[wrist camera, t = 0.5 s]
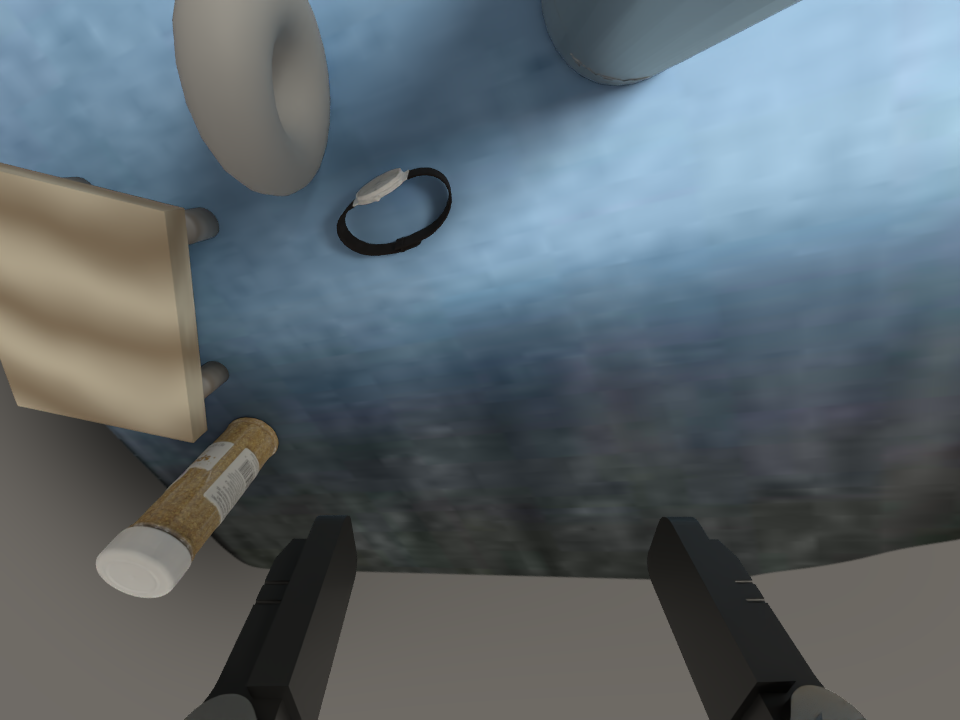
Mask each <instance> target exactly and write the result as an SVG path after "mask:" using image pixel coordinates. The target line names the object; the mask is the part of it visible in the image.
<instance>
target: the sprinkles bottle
mask: <svg viewBox="0 0 960 720" xmlns="http://www.w3.org/2000/svg"><path fill="white" fill-rule="evenodd" d="M277 448H278V438H277V435H276V433H275V432H274V430H273V429H272V428H271V427H270V426H269V425H267V424H266V423H265V422H263V421H261V420H258V419H256V418H247V417H244V418H239V419H236V420H234V421H233V422H232V423H230V424H229V426H228V427H227V429H226V430H225V431H224V433H223V434H222V435H220V437H219V438H218V439H217V440H216V441H214V443H213V444H212V445H210V446H209V447H208V448H207V449H206V450H205V451H204V452H203V453H202V454H201V455H200V456H199V457H198V458H197V459H196V460H195V461H194V462H193V463H192V464H191V465H190V466H189V467H188V468H187V469H186V470H185V471H184V472H183V473H182V474H181V475H180V476H179V477H178V478H177V479H176V480H175V481H174V482H173V483H172V484H171V485H170V486H169V488H168V489H167V490H166V491H165V493H164V494H163V495H162V496H161V497H160V498H159V499H158V500H157V501H156V502H155V503H154V504H153V505H152V506H151V507H150V508H149V509H148V510H147V511H146V512H145V513H144V514H143V515H142V516H141V517H140V518H139V519H138V520H137V521H136V522H135V523H134V524H133V525H130V527H128V528H127V529H125V530H123V531H121V532H120V533H119V534H118V535H117V536H116V537H115V538H114V539H113V540H112V541H111V542H110V543H109V544H108V545H107V546H106V547H105V548H104V549H103V551H102V552H101V553H100V554H99V555H98V557H97V559H96V569H97V571H98V573H99V575H100V576H101V577H102V578H103V579H104V580H105V581H106V582H107V583H108V584H109V585H111V586H112V587H114V588H116V589H117V590H119V591H122V592H124V593H126V594H129V595H133V596H137V597H142V598H155V597H160V596H163V595H165V594H167V593H169V592H170V591H171V590H172V588H174V586H175V585H176V584H177V583H178V582H179V580H180V579H181V578H182V576H183V575H184V574H185V572H186V571H187V570H188V568H189V567H190V565H191V562H192V561H193V559H194V557H195V554H196V553H197V552H198V551H199V549H200V548H201V547H202V546H203V544H204V543H205V542H206V540H207V539H208V538H209V537H210V535H211V534H212V533H213V531H214V530H215V529H216V528H217V527H218V526H219V525H220V523H221V522H222V521H223V520H224V518H225V517H226V516H227V514H228V513H229V512H230V510H231V509H232V508H233V506H234V505H235V504H236V502H237V501H238V500H239V498H240V497H241V496H242V495H243V493H244V492H245V491H246V489H247V488H248V486H249V485H250V484H251V482H252V481H253V480H254V478H255V477H256V476H257V474H258V472H259V470H260V469H261V468H262V466H263V465H264V463H265V462H266V461H267V460H268V458H269V457H271V456H272V455H273V454H274V453H275V452H276V450H277Z"/></svg>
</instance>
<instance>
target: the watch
mask: <svg viewBox="0 0 960 720" xmlns="http://www.w3.org/2000/svg"><path fill="white" fill-rule="evenodd" d="M421 175H428V176H434V177H436V178H438V179H440V180H441V181H442V182H443V183H444V184H445V185H446V187H447V189H448V193H449V196H448V201H447V205H446V207H445V209H444V211H443V213H442V214H441V215H440V216H439V218H438V219H437V220H435V221H434V222H433V223H432V224H431V225H429V226H428V227H426V228H424V229H422V230H420V231H418V232H416V233H414V234H412V235H410V236H407V237H402V238H400V239H397V240H396V242H394V243H388V244H369V243H366V242H363V241H361V240H359V239H358V238H356V237H355V236H353V235H352V234H351V232H350V231H349V230H348V228H347V226H346V223H345V217H346V214H347V212H348V211H349V210H350V209H352V208H354V207H355V206H357V205H365V204H369V203H372V202H375V201H379V200H380V198H382V197H383V196H385V195H387V194H388V193H390V192H392V191H393V190H395V189H396V188H397V187H399V186H400V185H401V184H402V183H403V182H404V181H405V180H408V179H410V178H413V177H416V176H421ZM451 203H452V197H451V188H450V184H449V182H448V180H447V178H446V177H445V176H444V174H442V173H441V172H440V171H438V170H436V169H432V168H416V169H412V170H407V171H405V172H403V171H402V170H401V169H400V168H397V169H393V170H390V171H388V172H386V173H384V174H382V175H380V176H378V177H376V178H374V179H373V180H372V181H370V182H369V183H367V184H366V185H365V186H363V187H362V188H361V189H360V190H359V191H358V192H357V194H356V199H355V200H353V202H352V203H351V204H350V205H349V206H348V207H347V208H346V209H345V211H344V212H343V214H342V215H341V216H340V218H339V220H338V223H337V234H338V236H339V238H340V240H341V241H342V242H343V244H344V245H346V246H347V247H348V248H350V249H351V250H353V251H355V252H357V253H360V254H363V255H369V256H379V255H387V254H394V253H399V252H405V251H406V250H408V249H411V248H414V247H416V246H418V245H419V244H420V243H421V241H422V240H424V239H426V238H427V237H429V236H430V235H432V234H433V233H434V232H435V231H436V230H437V229H438V228H439V227H441V225H442V224H443V222H444V221H445V220H446V218H447V216H448V214H449V211H450V208H451Z"/></svg>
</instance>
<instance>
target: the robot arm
mask: <svg viewBox="0 0 960 720" xmlns="http://www.w3.org/2000/svg"><path fill="white" fill-rule="evenodd" d="M800 1H801V0H541V4H542V12H543V16H544V20H545V24H546V27H547V31H548V34H549V36H550V38H551V40H552V42H553V44H554V46H555V48H556V50H557V52H558V53H559V54H560V55H561V57H562V58H563V59H564V60H565V62H566V63H567V64H568V65H569V66H570V67H571V68H572V69H574V70H575V71H576V72H577V73H579V74H580V75H581V76H583V77H585V78H587V79H590V80H592V81H594V82H597V83H600V84H607V85H614V86H617V85H627V84H634V83H637V82H640V81H643V80H646V79H648V78H651V77H653V76H655V75H657V74H659V73H661V72H663V71H665V70H667V69H669V68H671V67H672V66H674V65H677V64H679V63H681V62H683V61H685V60H687V59H689V58H691V57H693V56H695V55H697V54H698V53H700V52H702V51H704V50H706V49H708V48H710V47H712V46H714V45H716V44H718V43H720V42H722V41H724V40H726V39H728V38H730V37H732V36H733V35H735V34H737V33H739V32H741V31H743V30H745V29H747V28H749V27H751V26H753V25H755V24H757V23H759V22H761V21H763V20H765V19H766V18H768V17H770V16H772V15H774V14H776V13H778V12H780V11H782V10H784V9H786V8H788V7H790V6H792V5H794V4H796V3H798V2H800ZM647 565H648V572H649V576H650V579H651V581H652V584H653V586H654V589H655V591H656V593H657V596H658V598H659V600H660V603H661V605H662V608H663V610H664V613H665V615H666V617H667V620H668V622H669V624H670V627H671V629H672V632H673V634H674V636H675V639H676V641H677V643H678V646H679V648H680V650H681V653H682V655H683V658H684V660H685V663H686V665H687V667H688V670H689V672H690V674H691V677H692V679H693V682H694V684H695V686H696V689H697V691H698V693H699V696H700V698H701V701H702V703H703V705H704V708H705V710H706V712H707V715H708V717H709V720H867V719H866V718H865V717H864V716H863V715H862V714H861V713H860V712H859V711H858V710H857V709H856V708H855V707H854V706H853V705H851V704H850V703H848V702H847V701H846V700H845V699H843V698H842V697H840V696H838V695H837V694H836V693H833V692H832V691H830V690H828V689H825V688H824V686H823V685H822V684H821V683H820V682H819V680H818V679H817V678H816V676H815V675H814V674H813V672H812V670H811V669H810V667H809V666H808V664H807V663H806V661H805V660H804V658H803V657H802V655H801V654H800V652H799V651H798V649H797V648H796V646H795V645H794V643H793V641H792V640H791V638H790V637H789V635H788V634H787V632H786V631H785V629H784V628H783V626H782V625H781V623H780V622H779V620H778V619H777V617H776V615H775V614H774V612H773V611H772V609H771V608H770V606H769V605H768V603H765V601H764V597H763V596H762V594H761V593H760V591H759V590H758V588H757V587H756V585H755V584H753V583H752V579H751V577H750V576H749V574H748V573H747V571H746V570H745V568H744V567H743V565H742V563H741V562H740V560H739V559H738V558H737V557H736V556H735V555H734V554H733V553H732V552H731V551H730V550H729V549H728V548H726V547H725V546H724V545H723V544H722V543H721V542H720V541H719V540H709V538H708V536H707V535H706V533H705V532H704V530H703V528H702V527H701V525H700V524H699V522H698V521H697V520H696V519H695V518H693V517H662V518H661V519H660V521H659V523H658V526H657V529H656V532H655V535H654V538H653V541H652V544H651V546H650V549H649V552H648V557H647ZM356 568H357V552H356V546H355V541H354V535H353V529H352V523H351V518H350V516H318V517H317V518H316V520H315V521H314V523H313V526H312V528H311V531H310V533H309V536H308V538H307V539H293V540H292V541H291V542H290V543H289V544H288V545H287V546H286V547H285V548H284V549H283V551H282V552H281V553H280V554H279V555H278V556H277V557H276V558H275V560H274V563H273V565H272V567H271V569H270V571H269V573H268V575H267V578H266V580H265V584H264V585H263V586H262V588H261V590H260V592H259V594H258V597H257V599H256V604H255V605H253V607H252V609H251V612H250V614H249V616H248V618H247V620H246V622H245V624H244V626H243V628H242V631H241V633H240V635H239V637H238V639H237V641H236V643H235V645H234V648H233V650H232V652H231V654H230V656H229V658H228V661H227V663H226V665H225V667H224V669H223V671H222V673H221V675H220V677H219V680H218V681H217V683H216V685H215V687H214V689H213V690H212V691H211V693H210V694H209V696H208V697H207V698H206V700H205V701H204V702H203V703H202V704H201V705H200V706H199V707H197V708H196V709H195V710H194V711H193V712H191V713H190V714H189V715H188V716H187V717H186V718H185V719H184V720H318V716H319V712H320V709H321V705H322V701H323V697H324V694H325V690H326V686H327V682H328V678H329V674H330V671H331V667H332V663H333V659H334V656H335V652H336V648H337V644H338V640H339V637H340V633H341V629H342V625H343V621H344V618H345V614H346V610H347V606H348V603H349V599H350V595H351V591H352V587H353V584H354V580H355V575H356Z"/></svg>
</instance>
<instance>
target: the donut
mask: <svg viewBox="0 0 960 720" xmlns="http://www.w3.org/2000/svg"><path fill="white" fill-rule="evenodd" d="M172 21H173V34H174V46H175V58H176V65H177V69H178V73H179V77H180V81H181V85H182V89H183V92H184V96H185V100H186V104H187V106H188V108H189V111H190V113H191V115H192V118H193V120H194V122H195V124H196V127H197V129H198V131H199V133H200V136H201V138H202V139H203V141H204V142H205V143H206V145H207V146H208V148H209V149H210V150H211V152H212V153H213V155H214V156H215V158H216V159H217V160H218V162H219V163H220V164H221V166H222V167H223V169H224V170H225V171H226V172H228V173H229V174H230V175H231V176H233V177H234V178H235V179H237V180H238V181H239V182H241V183H242V184H243V185H245V186H246V187H248V188H249V189H250V190H252V191H255V192H258V193H261V194H267V195H274V196H288V195H290V194H293V193H295V192H297V191H299V190H300V189H302V188H304V187H305V186H307V185H308V184H309V183H310V182H311V181H312V179H313V178H314V176H315V174H316V173H317V171H318V170H319V168H320V165H321V162H322V159H323V156H324V152H325V149H326V146H327V140H328V133H329V126H330V88H329V75H328V69H327V63H326V57H325V51H324V46H323V43H322V39H321V35H320V32H319V28H318V25H317V22H316V19H315V16H314V13H313V11H312V8H311V6H310V4H309V2H308V0H175V5H174V12H173V19H172Z"/></svg>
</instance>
